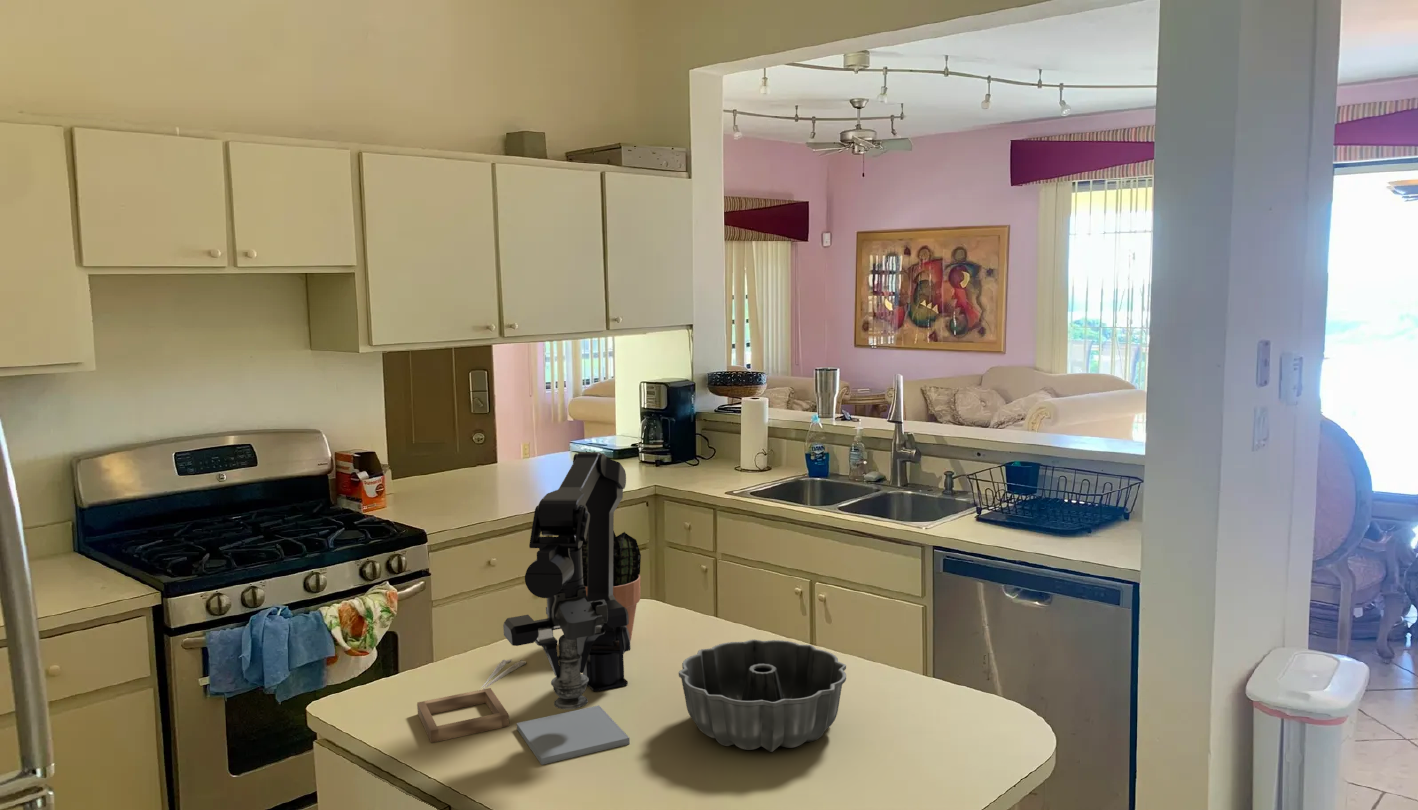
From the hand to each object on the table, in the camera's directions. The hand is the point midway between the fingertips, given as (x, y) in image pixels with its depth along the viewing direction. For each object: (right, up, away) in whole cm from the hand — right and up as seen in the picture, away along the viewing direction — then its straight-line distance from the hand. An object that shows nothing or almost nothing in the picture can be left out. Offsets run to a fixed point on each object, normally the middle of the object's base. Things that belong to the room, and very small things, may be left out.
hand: (569, 674), depth 156 cm
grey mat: (0, -10, +1) cm, 10 cm away
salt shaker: (0, -5, 0) cm, 5 cm away
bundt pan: (+31, -9, +2) cm, 32 cm away
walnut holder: (-19, -10, +8) cm, 23 cm away
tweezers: (-17, -9, +26) cm, 32 cm away
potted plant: (+2, -5, +44) cm, 44 cm away
